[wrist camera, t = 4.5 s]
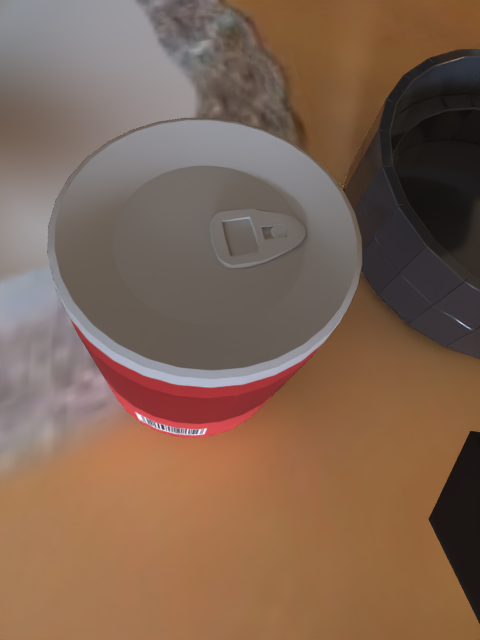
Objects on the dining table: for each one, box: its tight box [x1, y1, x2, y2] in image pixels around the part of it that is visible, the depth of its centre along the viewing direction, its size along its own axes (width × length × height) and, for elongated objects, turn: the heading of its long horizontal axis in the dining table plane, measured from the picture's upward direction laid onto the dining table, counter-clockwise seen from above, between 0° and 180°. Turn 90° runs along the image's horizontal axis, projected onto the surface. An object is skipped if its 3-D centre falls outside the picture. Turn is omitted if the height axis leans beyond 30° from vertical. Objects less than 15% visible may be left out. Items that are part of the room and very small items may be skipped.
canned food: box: [47, 118, 362, 438], centre depth 16 cm, size 8×8×11 cm
